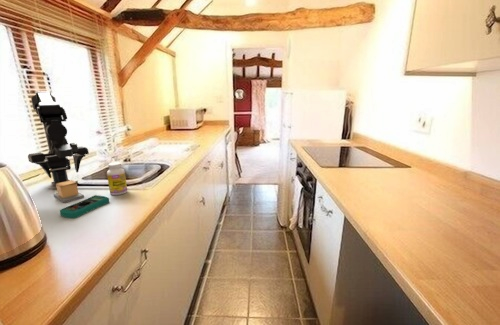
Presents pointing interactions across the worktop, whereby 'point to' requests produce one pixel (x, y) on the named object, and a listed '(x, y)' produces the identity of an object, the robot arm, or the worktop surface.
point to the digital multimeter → (84, 206)
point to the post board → (69, 197)
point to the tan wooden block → (67, 188)
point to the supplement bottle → (116, 179)
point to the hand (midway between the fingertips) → (64, 174)
